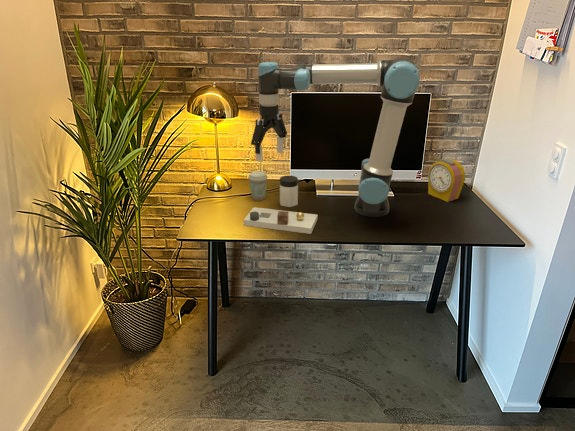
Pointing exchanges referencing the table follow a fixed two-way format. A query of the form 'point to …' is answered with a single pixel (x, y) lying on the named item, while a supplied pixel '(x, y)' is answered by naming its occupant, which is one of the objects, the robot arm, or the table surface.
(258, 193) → the coffee cup
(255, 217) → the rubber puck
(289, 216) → the plate
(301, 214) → the ball
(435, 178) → the alarm clock
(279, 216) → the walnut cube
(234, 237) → the table surface
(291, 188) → the jar
